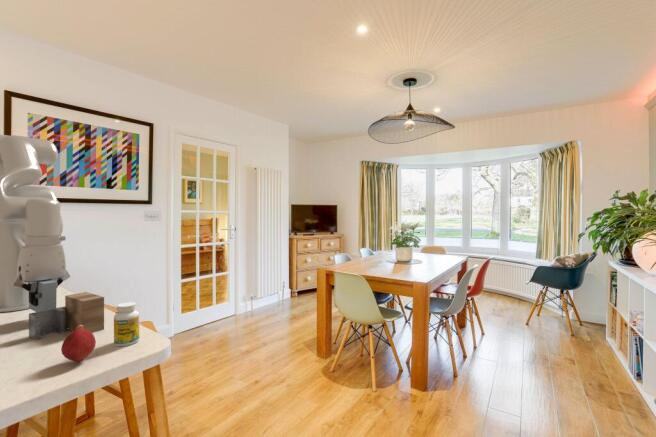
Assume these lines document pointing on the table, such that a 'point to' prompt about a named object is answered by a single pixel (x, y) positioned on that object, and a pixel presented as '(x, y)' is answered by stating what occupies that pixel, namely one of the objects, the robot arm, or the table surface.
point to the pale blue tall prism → (45, 295)
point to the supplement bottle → (126, 324)
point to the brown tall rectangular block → (85, 311)
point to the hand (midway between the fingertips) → (42, 302)
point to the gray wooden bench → (47, 322)
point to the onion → (78, 344)
